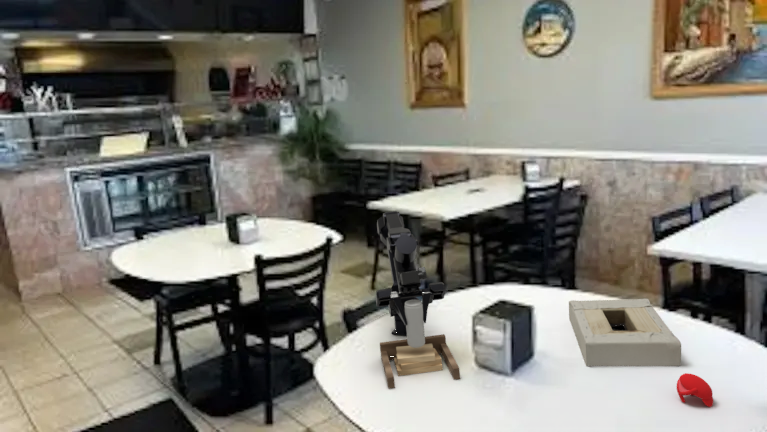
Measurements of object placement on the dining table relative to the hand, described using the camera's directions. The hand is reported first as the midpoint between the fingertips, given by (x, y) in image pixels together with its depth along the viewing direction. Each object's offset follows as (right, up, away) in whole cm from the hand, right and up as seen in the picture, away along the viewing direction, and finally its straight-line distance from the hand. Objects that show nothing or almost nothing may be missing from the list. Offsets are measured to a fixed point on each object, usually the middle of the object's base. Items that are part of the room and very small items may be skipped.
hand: (415, 323), depth 157 cm
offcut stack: (+1, -13, +5) cm, 13 cm away
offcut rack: (+1, -13, +4) cm, 13 cm away
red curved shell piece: (+61, -13, -24) cm, 67 cm away
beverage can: (0, -6, +3) cm, 7 cm away
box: (+58, -7, +9) cm, 59 cm away
